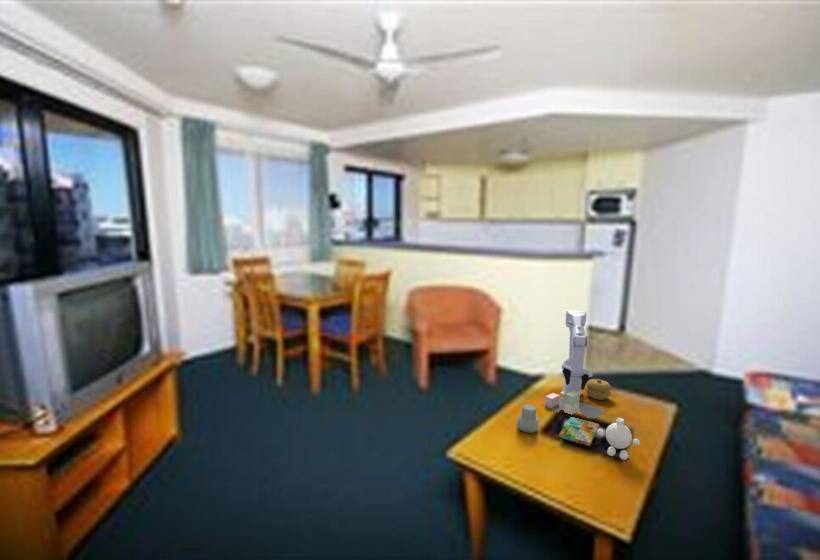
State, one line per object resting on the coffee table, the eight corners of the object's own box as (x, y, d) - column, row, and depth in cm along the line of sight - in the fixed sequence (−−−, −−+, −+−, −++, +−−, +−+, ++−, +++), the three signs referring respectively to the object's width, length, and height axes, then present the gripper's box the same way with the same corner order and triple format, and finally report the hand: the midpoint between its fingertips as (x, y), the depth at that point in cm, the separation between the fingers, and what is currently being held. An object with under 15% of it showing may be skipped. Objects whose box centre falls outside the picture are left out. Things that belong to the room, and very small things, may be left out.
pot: (602, 393, 226) (604, 375, 225) (614, 402, 215) (616, 383, 213) (581, 393, 226) (582, 375, 224) (591, 402, 214) (593, 383, 213)
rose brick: (552, 401, 212) (552, 392, 211) (558, 404, 210) (559, 395, 209) (544, 405, 207) (545, 396, 207) (551, 407, 205) (552, 398, 204)
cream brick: (571, 408, 205) (572, 399, 204) (578, 411, 202) (579, 402, 202) (564, 412, 200) (564, 403, 200) (571, 415, 198) (572, 405, 197)
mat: (563, 396, 220) (563, 395, 220) (606, 411, 204) (606, 410, 204) (542, 406, 207) (542, 406, 207) (587, 423, 191) (587, 423, 191)
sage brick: (572, 399, 204) (573, 390, 204) (579, 402, 202) (580, 392, 201) (564, 403, 200) (565, 393, 199) (572, 405, 197) (573, 396, 196)
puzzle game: (599, 421, 183) (590, 440, 167) (598, 432, 184) (589, 452, 167) (571, 414, 190) (559, 432, 173) (570, 424, 190) (558, 442, 174)
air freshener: (536, 437, 177) (538, 414, 175) (516, 433, 180) (518, 410, 178) (538, 425, 187) (539, 404, 186) (518, 422, 190) (520, 400, 188)
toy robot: (593, 453, 166) (596, 417, 164) (597, 443, 174) (601, 408, 172) (636, 466, 158) (640, 428, 156) (638, 455, 166) (643, 419, 164)
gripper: (559, 357, 208) (557, 384, 210) (588, 365, 198) (585, 393, 200) (566, 354, 213) (564, 380, 215) (595, 362, 202) (592, 389, 204)
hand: (575, 386), depth 207 cm, fingers open, 7 cm apart
